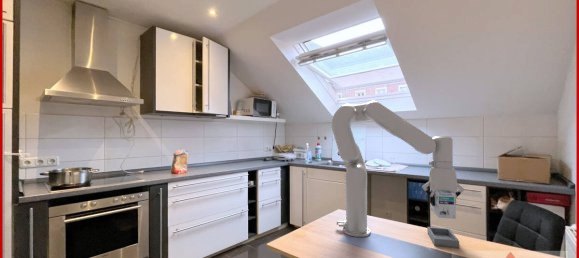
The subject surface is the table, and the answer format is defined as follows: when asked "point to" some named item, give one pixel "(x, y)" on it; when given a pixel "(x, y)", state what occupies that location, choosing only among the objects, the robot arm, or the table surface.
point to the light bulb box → (445, 204)
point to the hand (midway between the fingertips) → (442, 205)
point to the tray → (442, 237)
